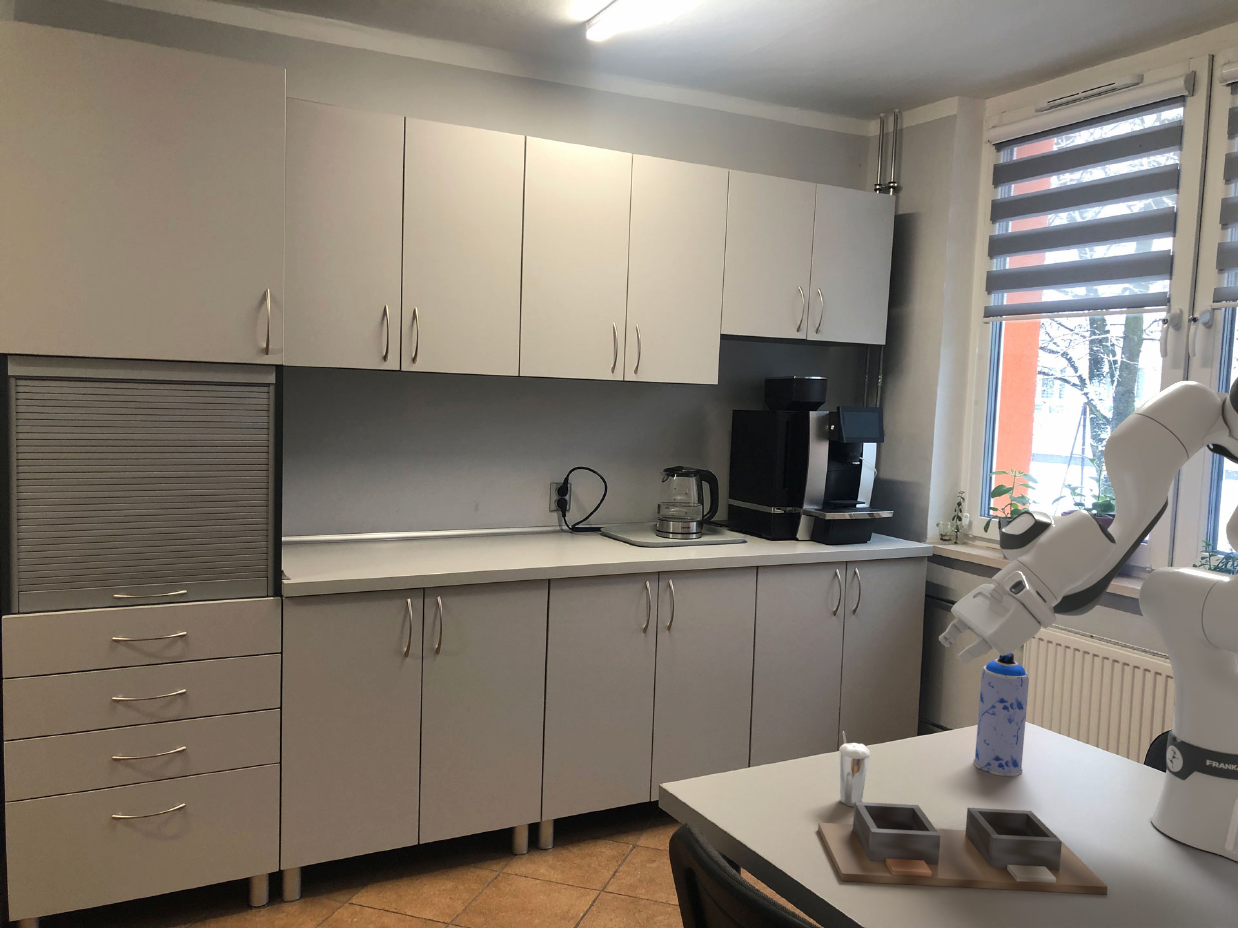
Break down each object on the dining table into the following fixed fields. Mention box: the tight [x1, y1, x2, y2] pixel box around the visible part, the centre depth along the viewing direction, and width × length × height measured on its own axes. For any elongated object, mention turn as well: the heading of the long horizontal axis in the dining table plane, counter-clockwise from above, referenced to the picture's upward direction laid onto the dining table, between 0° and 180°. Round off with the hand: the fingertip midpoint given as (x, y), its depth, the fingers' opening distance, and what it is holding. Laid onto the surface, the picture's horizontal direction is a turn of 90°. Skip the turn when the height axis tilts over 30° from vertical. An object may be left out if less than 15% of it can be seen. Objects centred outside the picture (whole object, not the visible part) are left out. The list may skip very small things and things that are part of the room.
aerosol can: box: [973, 652, 1030, 777], centre depth 156 cm, size 8×8×20 cm
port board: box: [817, 801, 1108, 895], centre depth 123 cm, size 34×14×5 cm, turn 90°
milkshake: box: [838, 731, 871, 808], centre depth 140 cm, size 5×5×10 cm
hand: (950, 651), depth 141 cm, fingers open, 8 cm apart
